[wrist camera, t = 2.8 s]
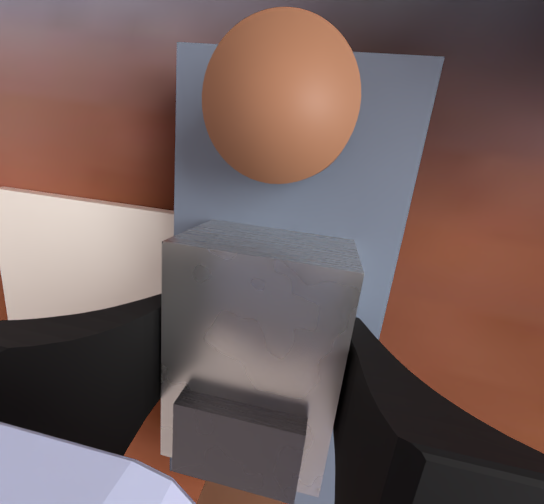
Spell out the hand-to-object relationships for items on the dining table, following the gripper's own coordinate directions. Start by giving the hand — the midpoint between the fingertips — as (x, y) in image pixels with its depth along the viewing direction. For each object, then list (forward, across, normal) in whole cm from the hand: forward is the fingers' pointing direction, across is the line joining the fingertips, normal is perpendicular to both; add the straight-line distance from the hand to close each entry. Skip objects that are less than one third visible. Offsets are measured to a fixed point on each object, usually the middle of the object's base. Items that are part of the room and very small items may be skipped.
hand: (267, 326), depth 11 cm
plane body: (+4, 0, 0) cm, 4 cm away
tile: (+4, +10, +2) cm, 11 cm away
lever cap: (+1, 0, 0) cm, 1 cm away
